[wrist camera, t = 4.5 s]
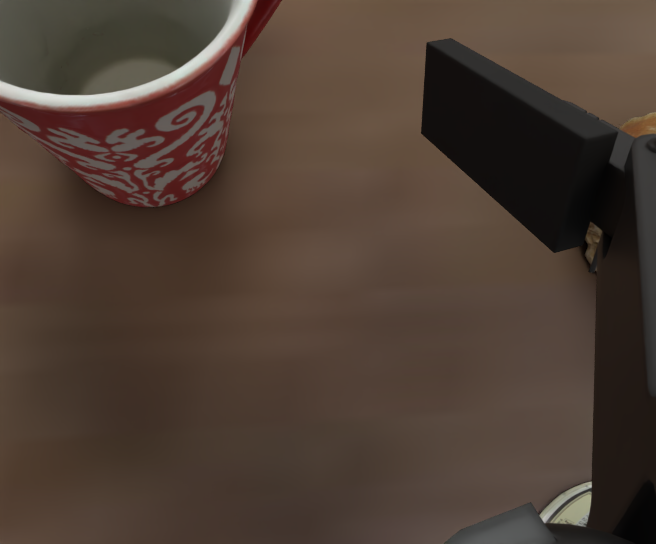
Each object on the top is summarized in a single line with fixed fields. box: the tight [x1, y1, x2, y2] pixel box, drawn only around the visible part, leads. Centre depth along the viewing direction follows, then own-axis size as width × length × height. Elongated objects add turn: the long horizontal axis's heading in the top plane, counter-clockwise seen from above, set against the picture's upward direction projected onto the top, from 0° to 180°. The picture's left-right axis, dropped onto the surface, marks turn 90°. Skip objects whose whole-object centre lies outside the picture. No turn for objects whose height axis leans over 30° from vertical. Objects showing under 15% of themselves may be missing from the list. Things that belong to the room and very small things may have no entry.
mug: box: [0, 0, 282, 207], centre depth 19 cm, size 13×9×14 cm
